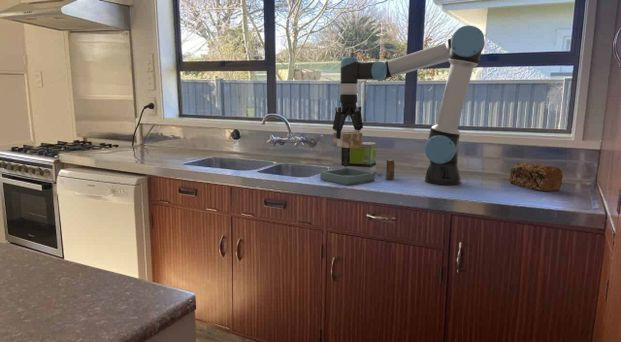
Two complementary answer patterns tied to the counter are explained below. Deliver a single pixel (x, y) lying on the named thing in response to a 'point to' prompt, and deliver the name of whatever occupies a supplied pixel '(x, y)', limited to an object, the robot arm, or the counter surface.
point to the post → (390, 169)
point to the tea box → (359, 157)
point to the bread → (536, 176)
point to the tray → (347, 176)
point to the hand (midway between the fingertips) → (347, 145)
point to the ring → (349, 140)
